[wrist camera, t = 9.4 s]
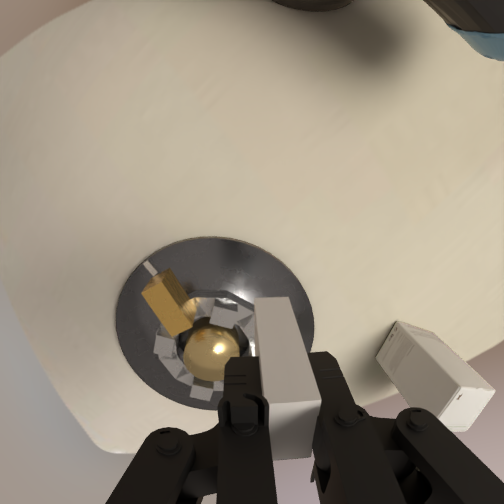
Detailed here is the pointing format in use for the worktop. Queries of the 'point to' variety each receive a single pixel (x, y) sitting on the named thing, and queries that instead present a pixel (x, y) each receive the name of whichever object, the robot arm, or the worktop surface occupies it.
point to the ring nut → (182, 318)
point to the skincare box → (433, 376)
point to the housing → (203, 333)
